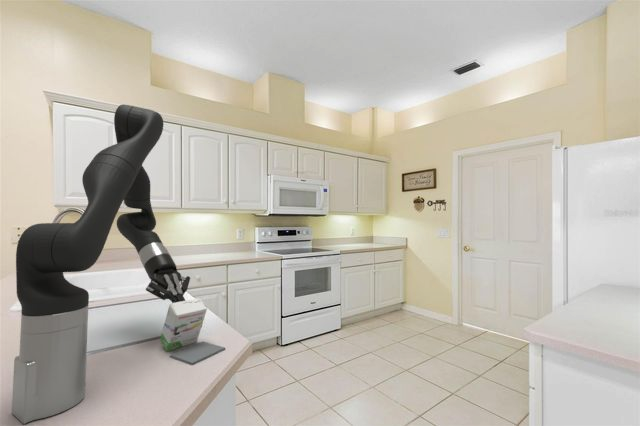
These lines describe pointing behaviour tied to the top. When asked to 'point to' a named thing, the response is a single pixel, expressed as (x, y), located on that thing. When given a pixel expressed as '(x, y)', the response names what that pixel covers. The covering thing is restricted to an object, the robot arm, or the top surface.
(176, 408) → the top surface
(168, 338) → the ink box
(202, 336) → the top surface
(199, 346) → the mat
